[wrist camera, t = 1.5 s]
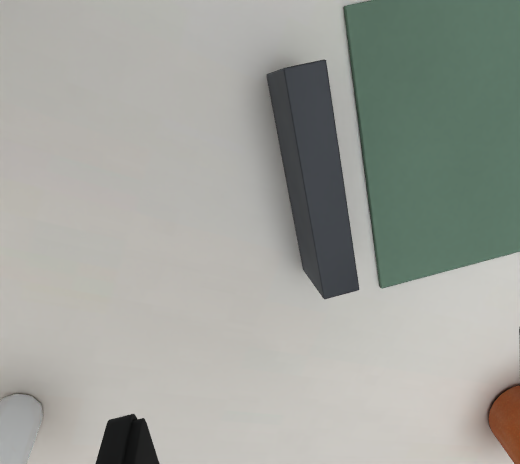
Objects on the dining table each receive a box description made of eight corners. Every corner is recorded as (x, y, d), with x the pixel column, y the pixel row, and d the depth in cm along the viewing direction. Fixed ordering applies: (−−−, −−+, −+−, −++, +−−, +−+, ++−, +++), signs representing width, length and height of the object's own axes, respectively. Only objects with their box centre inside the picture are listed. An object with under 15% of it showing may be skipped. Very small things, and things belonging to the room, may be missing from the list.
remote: (266, 74, 28) (283, 68, 23) (303, 66, 28) (329, 58, 23) (302, 270, 32) (323, 299, 27) (335, 261, 33) (362, 289, 28)
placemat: (343, 6, 28) (345, 5, 27) (528, -31, 29) (532, -33, 29) (379, 286, 34) (381, 288, 33) (530, 246, 35) (534, 247, 35)
